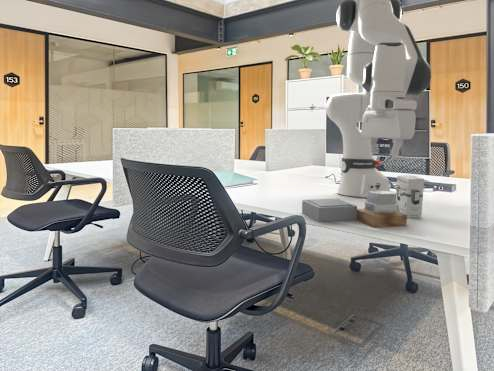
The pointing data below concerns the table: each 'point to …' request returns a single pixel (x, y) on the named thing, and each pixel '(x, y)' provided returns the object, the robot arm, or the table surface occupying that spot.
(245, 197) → the table surface
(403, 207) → the ink box
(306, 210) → the grey riser
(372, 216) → the walnut stand
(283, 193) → the table surface
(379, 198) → the housing
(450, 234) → the table surface
